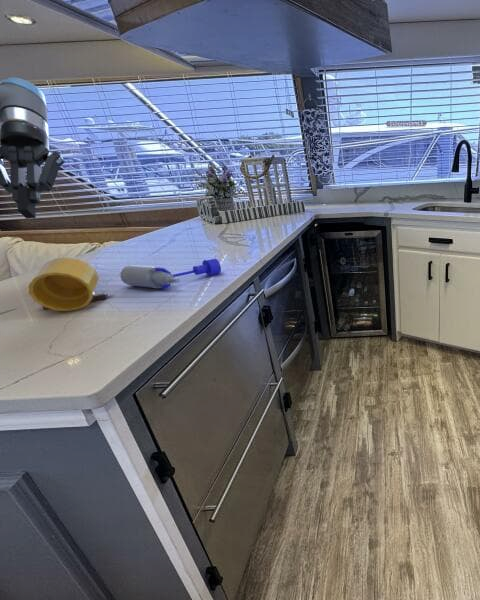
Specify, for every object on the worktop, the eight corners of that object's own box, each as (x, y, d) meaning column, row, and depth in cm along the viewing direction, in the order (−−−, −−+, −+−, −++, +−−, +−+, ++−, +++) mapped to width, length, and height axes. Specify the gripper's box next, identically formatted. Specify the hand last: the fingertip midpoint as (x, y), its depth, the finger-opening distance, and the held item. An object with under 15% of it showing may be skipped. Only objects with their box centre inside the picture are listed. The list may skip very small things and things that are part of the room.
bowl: (41, 290, 78) (29, 308, 72) (41, 252, 74) (28, 269, 68) (98, 295, 84) (91, 313, 78) (100, 261, 80) (93, 277, 74)
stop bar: (43, 309, 77) (41, 305, 77) (46, 307, 78) (44, 302, 78) (107, 298, 82) (105, 294, 82) (108, 296, 84) (106, 292, 83)
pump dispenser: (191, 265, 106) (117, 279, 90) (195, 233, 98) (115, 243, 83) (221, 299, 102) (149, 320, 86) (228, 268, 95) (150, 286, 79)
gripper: (70, 147, 82) (76, 221, 75) (-2, 148, 76) (-3, 228, 69) (52, 121, 76) (56, 199, 69) (-28, 119, 70) (-32, 205, 63)
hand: (26, 214), depth 69 cm, fingers closed
